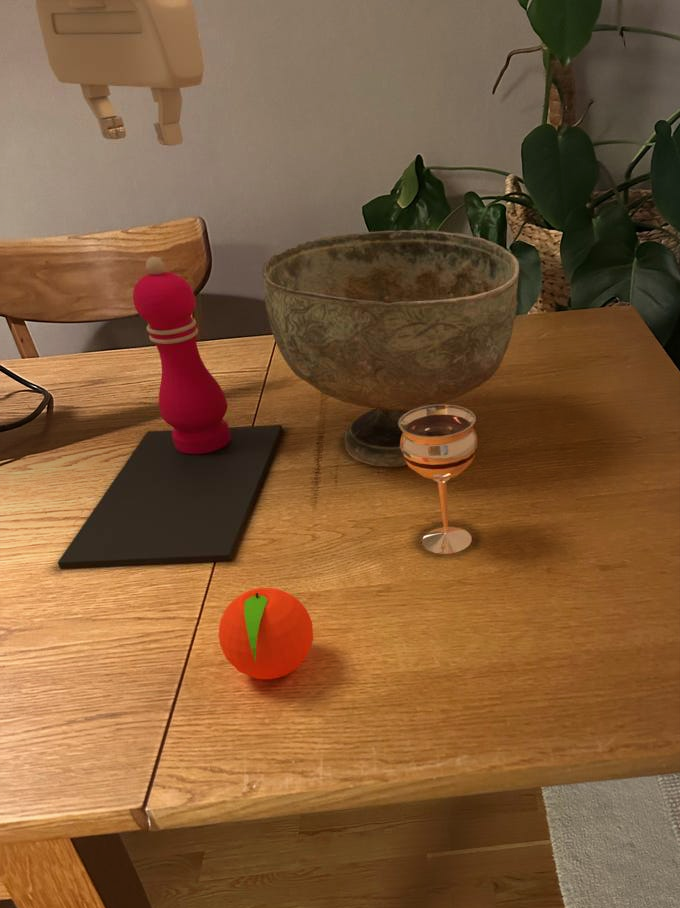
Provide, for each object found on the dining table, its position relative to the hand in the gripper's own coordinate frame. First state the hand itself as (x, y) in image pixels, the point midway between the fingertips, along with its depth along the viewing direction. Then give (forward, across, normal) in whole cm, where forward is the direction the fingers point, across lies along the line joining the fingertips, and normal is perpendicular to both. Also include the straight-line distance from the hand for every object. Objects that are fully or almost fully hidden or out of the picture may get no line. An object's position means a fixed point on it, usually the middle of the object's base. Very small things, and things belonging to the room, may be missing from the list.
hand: (142, 141), depth 81 cm
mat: (+30, +9, -12) cm, 34 cm away
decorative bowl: (+30, +21, +11) cm, 38 cm away
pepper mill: (+30, +3, -4) cm, 30 cm away
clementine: (+30, +40, -26) cm, 56 cm away
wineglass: (+30, +39, -3) cm, 49 cm away
